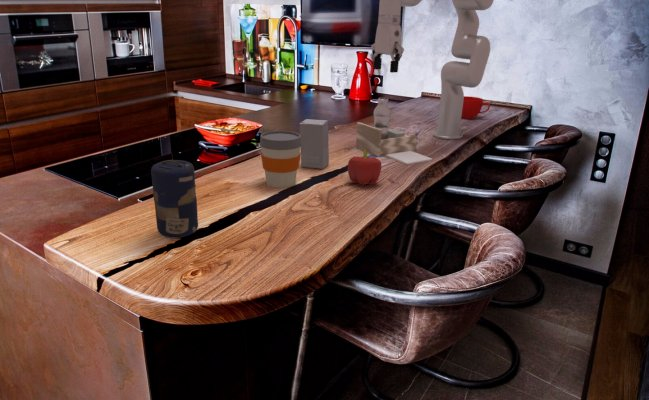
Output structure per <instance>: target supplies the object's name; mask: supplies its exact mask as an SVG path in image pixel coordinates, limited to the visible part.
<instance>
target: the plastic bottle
mask: <svg viewBox="0 0 649 400" xmlns="http://www.w3.org/2000/svg"><path fill="white" fill-rule="evenodd" d="M391 116H392V111H391V108H390V107H389V98H388V97H378V100H377V106H376V107H375V108H374V109H373V120H374V124H373V127H375V128H378V129H381V130H382V134H381V140H383V139H389V138H388V129H389V128H390V120H391Z"/></svg>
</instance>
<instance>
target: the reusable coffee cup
mask: <svg viewBox="0 0 649 400" xmlns="http://www.w3.org/2000/svg"><path fill="white" fill-rule="evenodd" d="M259 138H260V139H259V147H261V153H260V156H261V164H262V169H263V170H264V173H265V182H266V185H268V186H269V187H272V188H277V189H278V188H280V189H282V188H284V189H285V188H289V187H293V186H294V185H296V180H297V173H298V170H299V167H300V164H301V145H302V144H301V135H300V133H298V132H296V131H288V130H273V131H266V132H263V133H261V134H260V137H259Z"/></svg>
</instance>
